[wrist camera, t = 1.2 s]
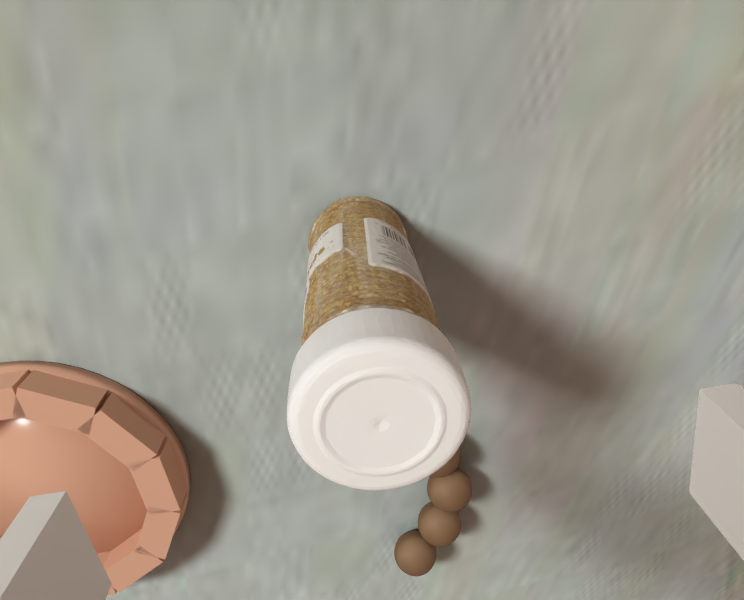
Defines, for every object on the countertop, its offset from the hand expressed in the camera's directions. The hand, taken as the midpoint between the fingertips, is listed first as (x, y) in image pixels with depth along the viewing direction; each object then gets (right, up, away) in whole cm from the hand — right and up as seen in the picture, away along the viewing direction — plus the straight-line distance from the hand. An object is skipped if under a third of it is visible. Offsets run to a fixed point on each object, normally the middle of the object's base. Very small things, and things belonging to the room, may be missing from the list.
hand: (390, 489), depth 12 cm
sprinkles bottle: (-1, +7, +14) cm, 16 cm away
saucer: (-17, -5, +18) cm, 26 cm away
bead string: (+3, -6, +20) cm, 21 cm away
